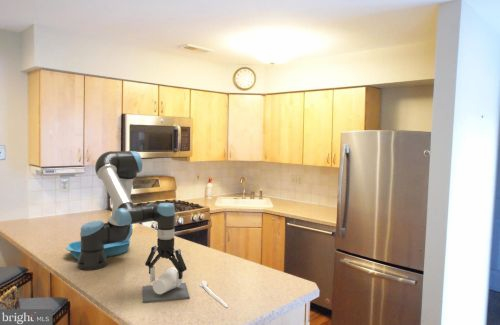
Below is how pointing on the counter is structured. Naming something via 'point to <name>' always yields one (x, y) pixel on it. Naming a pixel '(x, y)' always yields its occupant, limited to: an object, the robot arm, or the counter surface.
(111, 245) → the casserole dish
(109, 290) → the counter surface
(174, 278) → the foam cup
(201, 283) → the white long knobbed rod
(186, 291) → the mat
